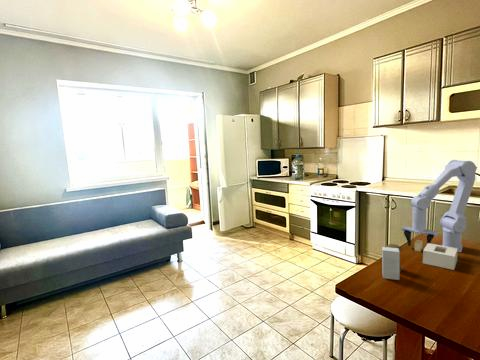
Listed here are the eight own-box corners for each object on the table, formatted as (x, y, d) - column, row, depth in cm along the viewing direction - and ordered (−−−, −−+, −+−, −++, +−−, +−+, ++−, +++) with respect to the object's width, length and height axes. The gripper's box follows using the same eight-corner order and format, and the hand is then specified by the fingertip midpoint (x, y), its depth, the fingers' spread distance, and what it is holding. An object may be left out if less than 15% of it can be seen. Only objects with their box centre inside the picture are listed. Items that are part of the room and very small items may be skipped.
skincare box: (398, 275, 110) (398, 248, 108) (399, 280, 106) (400, 252, 105) (381, 273, 113) (382, 246, 111) (382, 278, 109) (382, 250, 107)
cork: (397, 265, 118) (397, 242, 117) (404, 272, 112) (404, 247, 111) (382, 265, 119) (383, 242, 118) (389, 272, 113) (389, 247, 112)
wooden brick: (416, 248, 136) (416, 239, 135) (422, 249, 134) (422, 240, 134) (414, 250, 133) (414, 242, 132) (420, 252, 131) (420, 243, 130)
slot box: (427, 255, 127) (427, 243, 126) (456, 261, 119) (457, 248, 119) (422, 263, 119) (423, 250, 119) (454, 270, 112) (454, 256, 111)
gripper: (400, 220, 134) (399, 246, 135) (435, 225, 124) (434, 253, 125) (404, 217, 139) (403, 242, 140) (438, 221, 129) (437, 248, 130)
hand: (418, 246), depth 133 cm, fingers open, 7 cm apart
